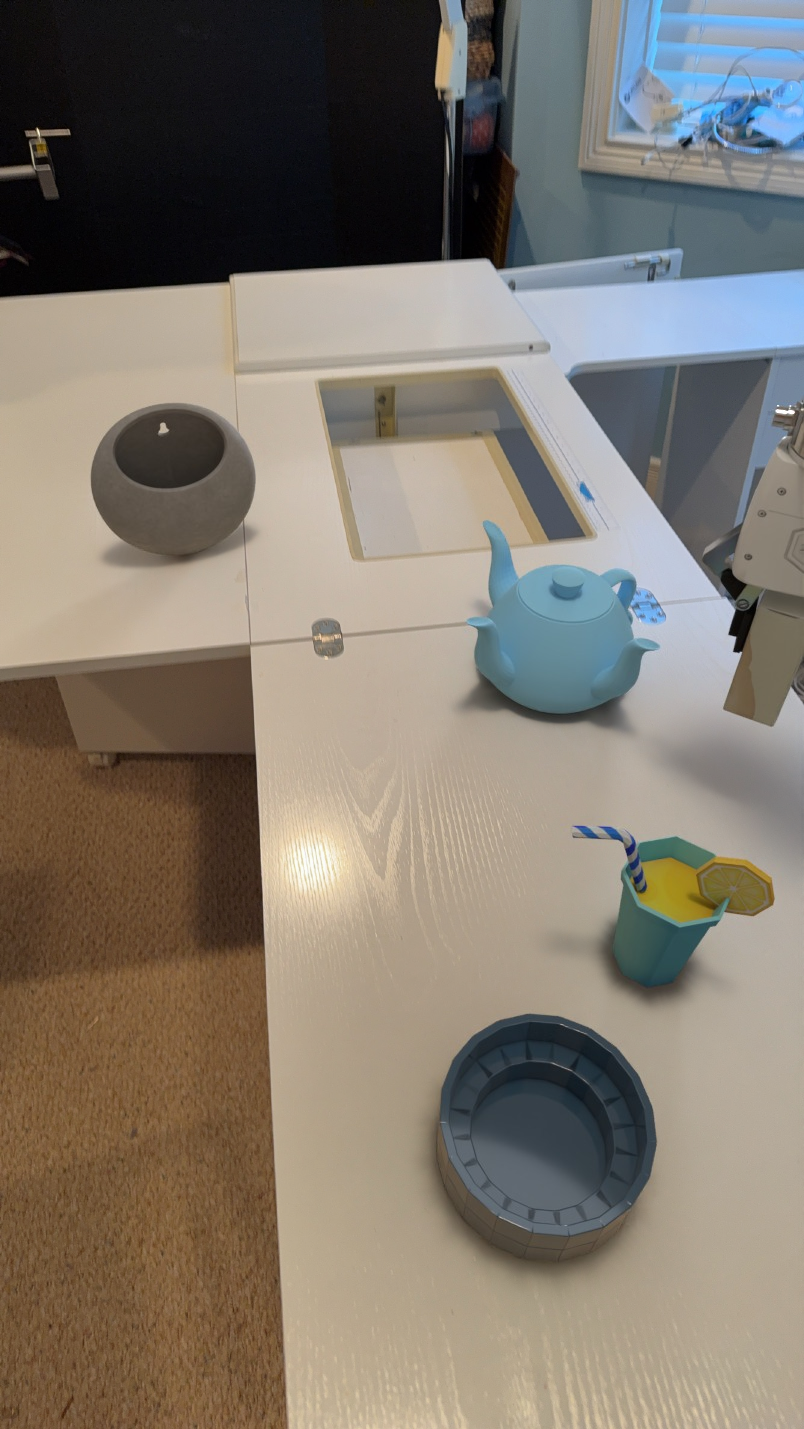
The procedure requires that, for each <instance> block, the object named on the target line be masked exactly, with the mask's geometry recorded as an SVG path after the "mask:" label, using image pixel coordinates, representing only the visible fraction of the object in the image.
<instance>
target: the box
mask: <svg viewBox="0 0 804 1429" xmlns="http://www.w3.org/2000/svg"><path fill="white" fill-rule="evenodd" d="M763 591H764V592H763V593H762V596H761V597H760V600H759V601H758V604H757V609H756V613H755V616H754V619H753V622H752V625H751V628H750V631H749V634H748V637H747V639H746V642H745V645H744V648H743V651H742V652H741V654H740V657H739V660H738V663H737V666H736V669H735V671H734V675H733V677H732V680H731V683H730V686H729V689H728V692H727V694H726V698H725V701H724V703H723V707H722V710H723V711H726V712H729V713H731V714H734V715H736V716H739V717H741V718H745V719H748V720H750V721H753V722H756V723H759V724H762V725H765V726H768V727H770V728H772V727H774V726H775V724H776V722H777V720H778V718H779V716H780V713H781V711H782V708H783V706H784V705H785V701H786V699H787V697H788V694H789V692H790V690H791V688H792V685H793V682H794V681H795V677H796V676H797V673H798V670H799V668H800V666H801V664H802V661H803V658H804V597H799V596H794V595H790V594H785V593H781V592H776V591H772V590H767V589H764V590H763Z"/></svg>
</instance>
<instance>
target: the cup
mask: <svg viewBox="0 0 804 1429" xmlns="http://www.w3.org/2000/svg"><path fill="white" fill-rule="evenodd" d="M571 836H572V838H573V839H589V840H590V839H591V840H611V841H615V840H616V841H619V842H621V843H622V844H623V847H624V850H625V854H626V857H627V860H626V862H625V863H624V865H623V867H622V869H621V870H620V881H621V883H622V890H621V891H622V892H621V896H620V897H621V898H620V903H619V908H618V916H617V920H616V921H617V922H616V927H615V933H614V940H613V945H612V953H613V955H614V958H615V960H616V962H617V965H618V967H619V970H620V972H621V974H622V975H623V976H625V977H626V978H628V979H630V980H632V981H634V982H636V983H637V984H640V985H641V986H643V987H645V988H653V987H658V986H663V985H668V984H673V982H674V981H675V980H676V979H677V977H678V976H679V974H680V972H681V971H682V969H683V968H684V967H685V965H686V963H687V962H688V960H689V959H690V958H691V956H692V955H693V953H694V952H695V950H696V949H697V947H698V946H699V944H700V943H701V941H702V940H703V939H704V937H705V936H706V934H707V933H708V931H709V929H710V928H712V927H716V926H717V925H718V924H719V923H720V922H721V920H722V918H723V916H724V914H725V913H726V914H734V915H740V916H747V917H755V916H757V915H758V914H760V913H762V912H764V911H765V910H767V909H769V908H771V907H772V906H774V904H775V900H776V899H775V892H774V885H773V877H771V875H769V874H768V873H766V872H765V871H763V870H762V869H760V868H759V867H757V866H756V864H753V863H752V862H751V861H749V859H747V858H745V859H744V858H738V857H737V858H736V857H726V856H717V854H716V853H714V852H712V851H710V850H708V849H706V848H703V847H701V846H699V845H697V844H695V843H693V842H691V841H688V840H687V839H684V838H682V837H680V836H677V835H671V836H666V837H661V838H660V837H659V838H655V839H649V840H643V841H638V842H637V843H636V839H635V837H634V836H633V835H632V834H631V833H630V832H629V831H628V830H626V829H624V828H623V827H621V826H607V825H606V826H605V825H603V826H601V825H597V826H596V825H572V826H571Z"/></svg>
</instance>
